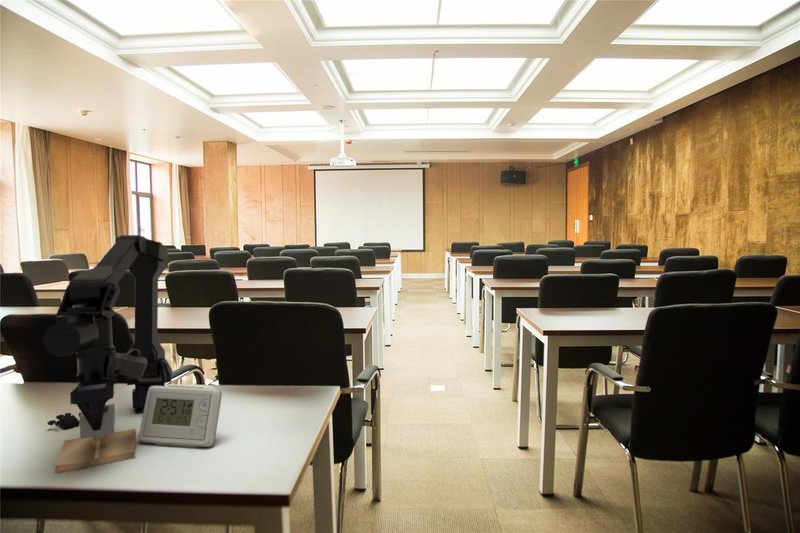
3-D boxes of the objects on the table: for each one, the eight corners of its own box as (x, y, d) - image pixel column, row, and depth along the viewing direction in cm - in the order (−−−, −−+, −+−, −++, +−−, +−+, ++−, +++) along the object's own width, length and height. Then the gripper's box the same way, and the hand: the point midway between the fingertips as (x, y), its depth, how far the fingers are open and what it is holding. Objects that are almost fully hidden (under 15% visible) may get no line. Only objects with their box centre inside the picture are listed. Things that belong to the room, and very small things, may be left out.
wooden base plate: (135, 434, 98) (134, 411, 98) (134, 457, 88) (133, 433, 87) (65, 446, 92) (64, 422, 92) (55, 473, 82) (54, 446, 82)
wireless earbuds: (54, 428, 98) (44, 416, 101) (52, 439, 99) (42, 426, 101) (91, 418, 104) (80, 406, 107) (89, 427, 105) (79, 416, 107)
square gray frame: (83, 428, 91) (82, 405, 91) (115, 423, 93) (114, 400, 93) (80, 438, 86) (79, 414, 86) (113, 433, 89) (112, 409, 89)
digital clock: (133, 443, 94) (131, 391, 93) (169, 426, 102) (168, 378, 102) (198, 456, 88) (196, 400, 88) (231, 437, 97) (229, 386, 96)
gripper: (143, 349, 84) (146, 434, 85) (143, 330, 101) (146, 402, 102) (68, 356, 79) (72, 447, 80) (80, 336, 96) (84, 411, 97)
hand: (98, 424), depth 90 cm, fingers closed on square gray frame, 5 cm apart
